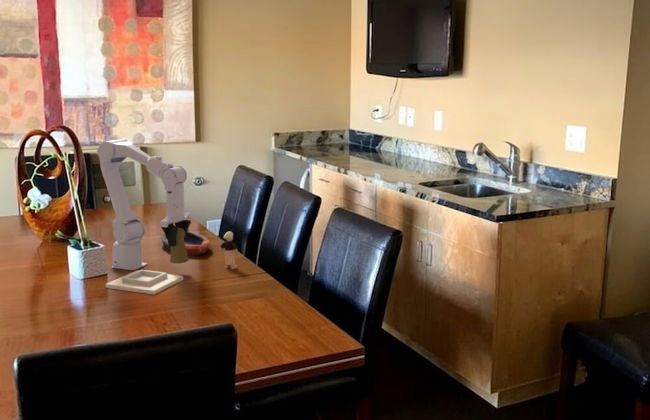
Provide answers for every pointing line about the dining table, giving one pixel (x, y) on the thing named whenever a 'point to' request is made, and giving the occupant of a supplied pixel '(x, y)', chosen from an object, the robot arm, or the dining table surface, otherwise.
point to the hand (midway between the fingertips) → (177, 243)
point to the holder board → (145, 281)
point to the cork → (179, 248)
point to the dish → (191, 243)
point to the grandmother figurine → (229, 250)
